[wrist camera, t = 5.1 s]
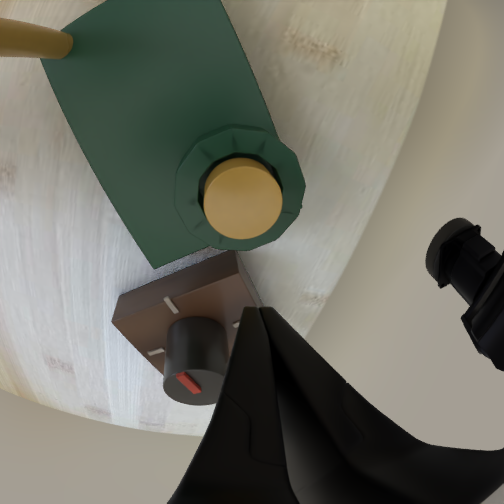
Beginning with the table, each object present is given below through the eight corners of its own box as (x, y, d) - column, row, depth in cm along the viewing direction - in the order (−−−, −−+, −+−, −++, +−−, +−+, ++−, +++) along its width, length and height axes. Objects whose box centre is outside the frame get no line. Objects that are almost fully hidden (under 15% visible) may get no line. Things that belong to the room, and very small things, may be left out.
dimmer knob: (236, 346, 22) (244, 399, 17) (185, 362, 22) (186, 414, 18) (210, 308, 19) (214, 366, 15) (155, 328, 20) (148, 384, 16)
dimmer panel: (272, 322, 25) (279, 350, 22) (172, 356, 26) (170, 384, 23) (233, 244, 20) (237, 270, 18) (116, 292, 21) (107, 320, 19)
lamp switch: (284, 208, 16) (292, 222, 14) (221, 233, 16) (223, 250, 14) (260, 146, 14) (267, 153, 12) (192, 175, 14) (190, 186, 12)
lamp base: (298, 197, 19) (318, 223, 16) (159, 255, 20) (152, 290, 17) (204, -29, 11) (204, -56, 7) (52, 51, 11) (19, 47, 8)
